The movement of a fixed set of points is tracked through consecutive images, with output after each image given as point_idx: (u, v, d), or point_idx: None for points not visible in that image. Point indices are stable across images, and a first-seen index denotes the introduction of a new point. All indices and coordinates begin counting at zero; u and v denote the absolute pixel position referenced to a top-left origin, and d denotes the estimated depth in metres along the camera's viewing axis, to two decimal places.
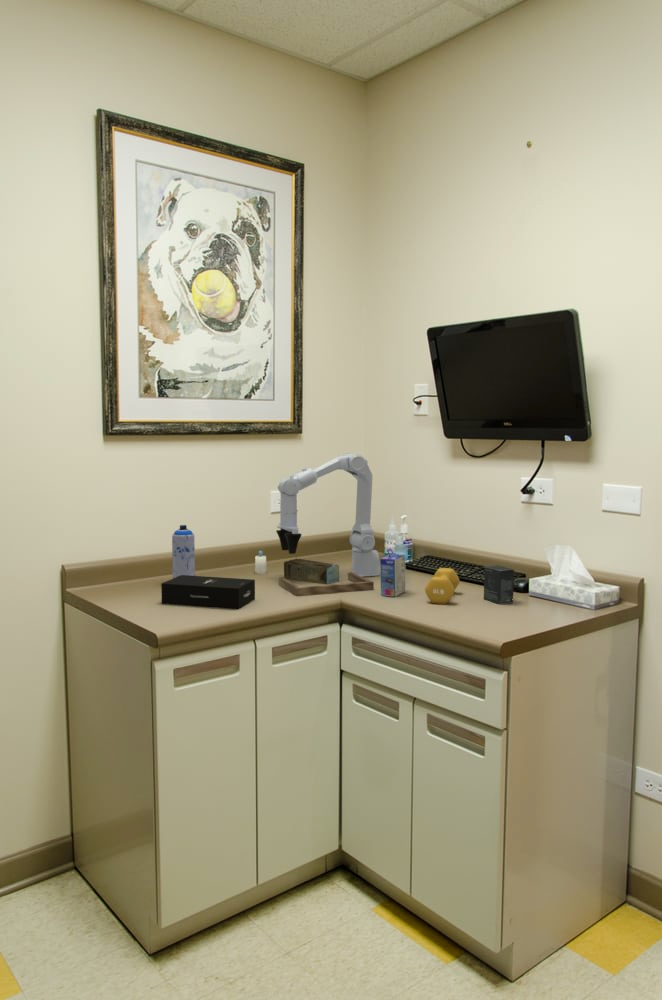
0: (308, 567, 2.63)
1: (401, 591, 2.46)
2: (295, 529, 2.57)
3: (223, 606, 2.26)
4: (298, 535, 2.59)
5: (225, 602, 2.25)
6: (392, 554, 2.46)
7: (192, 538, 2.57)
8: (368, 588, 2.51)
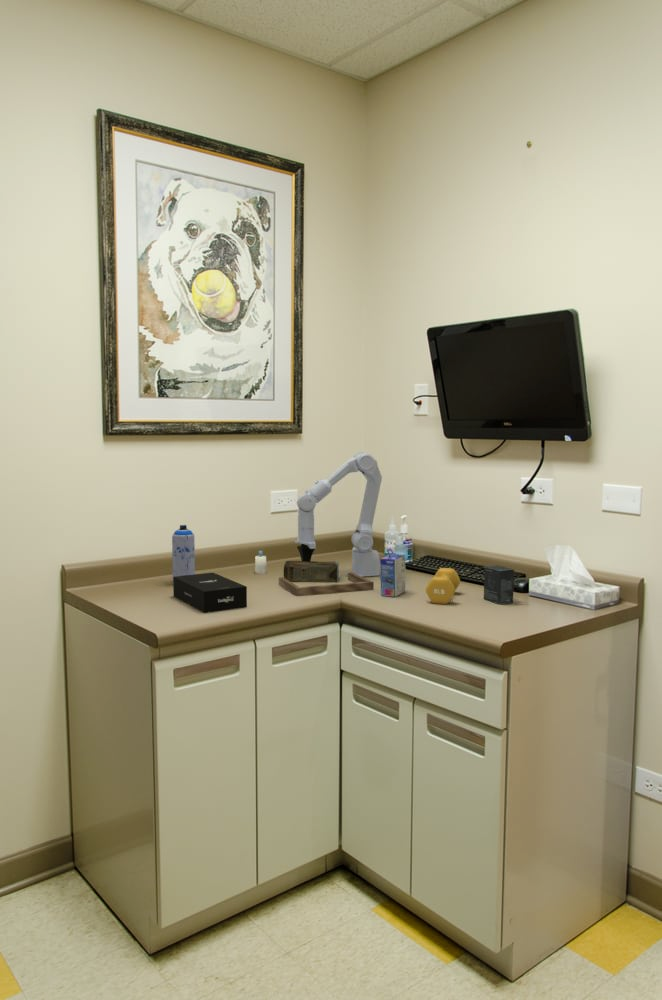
0: (315, 567, 2.63)
1: (401, 591, 2.46)
2: (313, 544, 2.65)
3: (198, 607, 2.24)
4: (312, 548, 2.70)
5: (198, 604, 2.24)
6: (392, 554, 2.46)
7: (192, 538, 2.57)
8: (368, 588, 2.51)
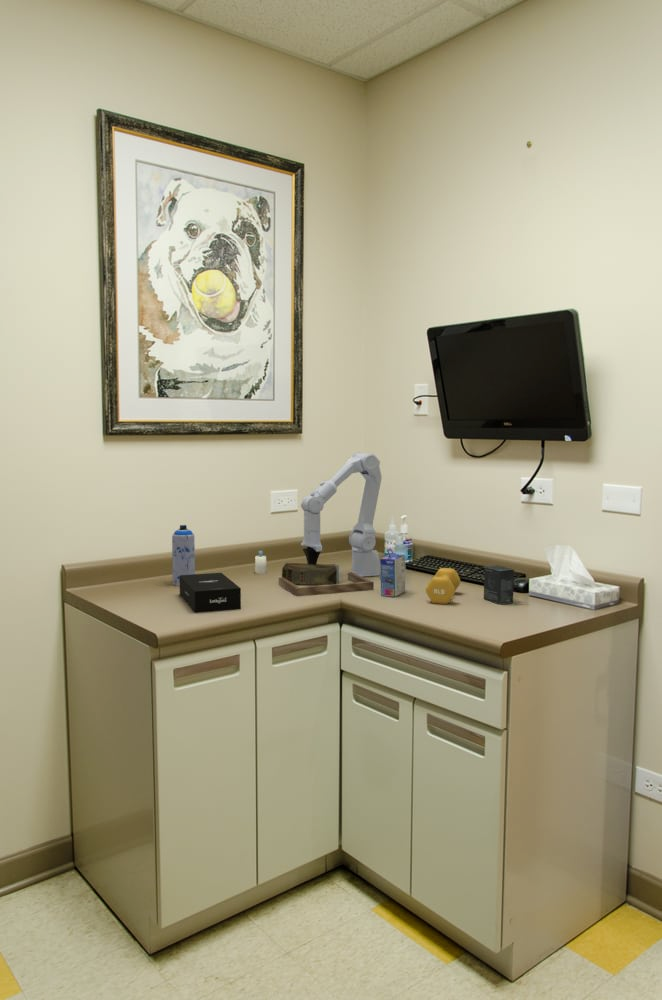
0: (314, 570, 2.58)
1: (401, 591, 2.46)
2: (319, 547, 2.59)
3: (191, 607, 2.25)
4: (318, 551, 2.65)
5: (192, 603, 2.24)
6: (392, 554, 2.46)
7: (192, 538, 2.57)
8: (368, 588, 2.51)
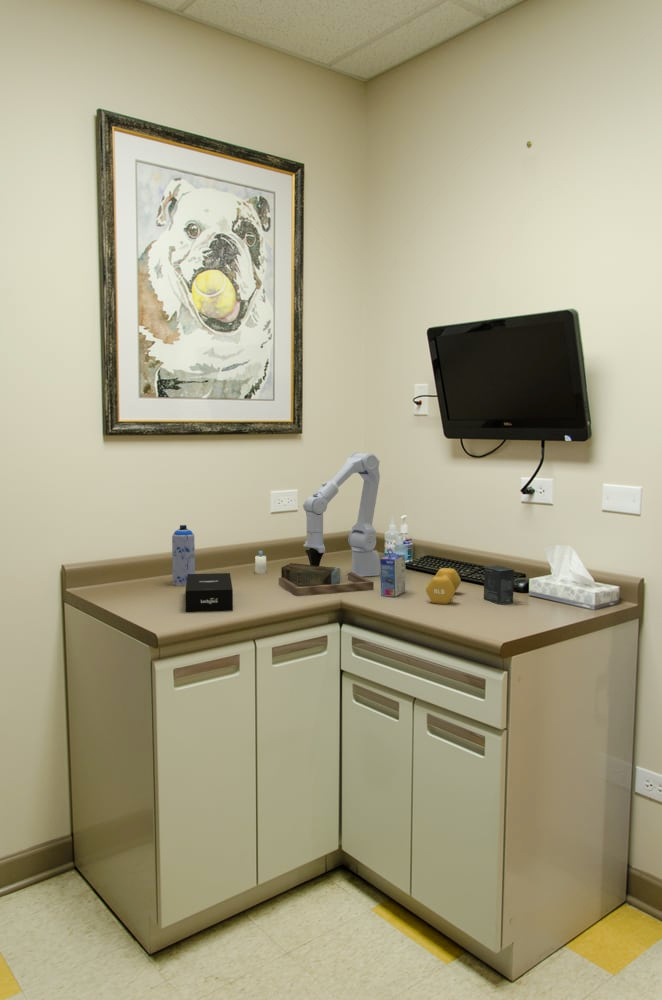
0: (310, 571, 2.54)
1: (401, 591, 2.46)
2: (322, 548, 2.57)
3: None
4: (321, 552, 2.62)
5: None
6: (392, 554, 2.46)
7: (192, 538, 2.57)
8: (368, 588, 2.51)
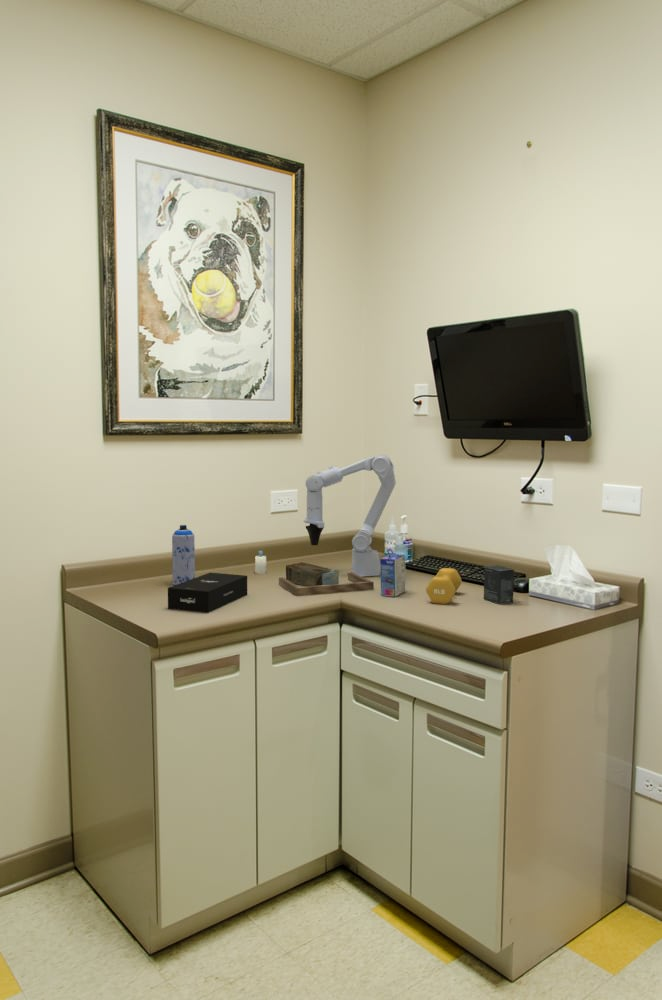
0: (306, 572, 2.55)
1: (401, 591, 2.46)
2: (321, 523, 2.70)
3: None
4: (320, 528, 2.76)
5: None
6: (392, 554, 2.46)
7: (192, 538, 2.57)
8: (368, 588, 2.51)
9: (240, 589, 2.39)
